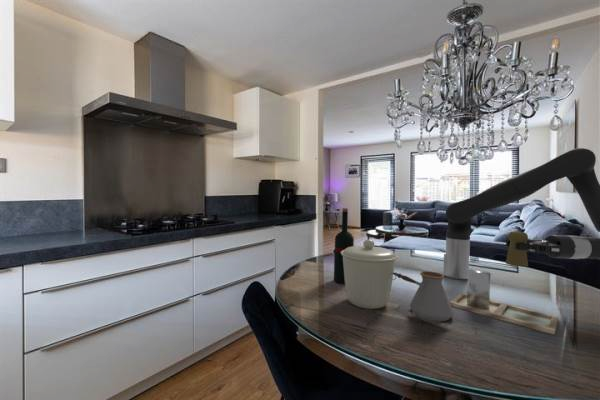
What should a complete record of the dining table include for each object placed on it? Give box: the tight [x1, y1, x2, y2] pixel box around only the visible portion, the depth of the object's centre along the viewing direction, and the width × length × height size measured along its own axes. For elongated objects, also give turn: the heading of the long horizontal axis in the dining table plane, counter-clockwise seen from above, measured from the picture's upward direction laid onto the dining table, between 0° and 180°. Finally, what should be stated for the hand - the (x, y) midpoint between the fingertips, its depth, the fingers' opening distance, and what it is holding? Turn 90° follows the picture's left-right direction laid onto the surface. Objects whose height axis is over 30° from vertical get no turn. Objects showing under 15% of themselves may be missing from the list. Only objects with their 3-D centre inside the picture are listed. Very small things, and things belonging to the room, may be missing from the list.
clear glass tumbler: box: [466, 268, 492, 310], centre depth 88 cm, size 6×6×11 cm
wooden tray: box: [449, 292, 559, 336], centre depth 84 cm, size 25×12×2 cm, turn 44°
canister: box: [341, 238, 398, 310], centre depth 92 cm, size 18×18×21 cm
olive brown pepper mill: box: [505, 230, 529, 268], centre depth 93 cm, size 6×6×11 cm
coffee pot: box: [390, 270, 454, 325], centre depth 80 cm, size 21×12×15 cm, turn 115°
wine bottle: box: [333, 207, 355, 285], centre depth 113 cm, size 8×10×30 cm
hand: (511, 244), depth 93 cm, fingers closed on olive brown pepper mill, 4 cm apart
